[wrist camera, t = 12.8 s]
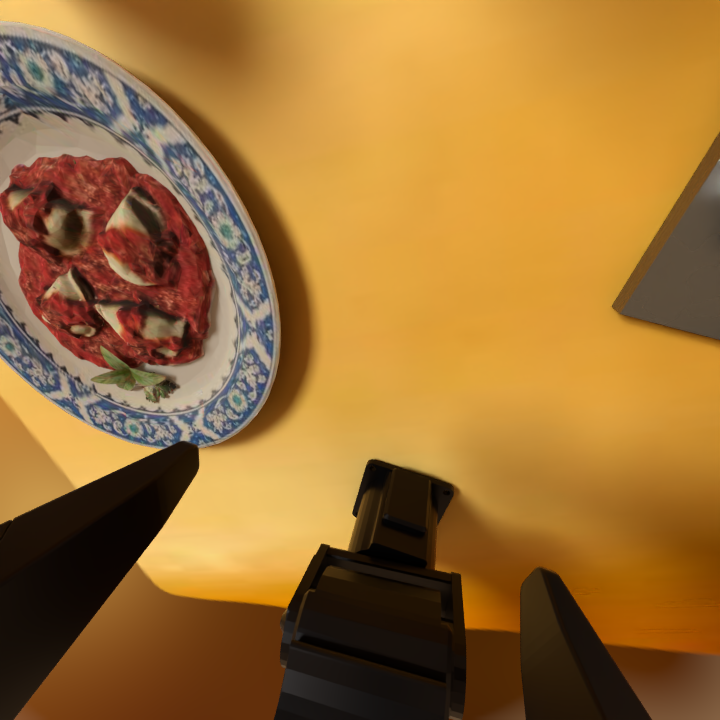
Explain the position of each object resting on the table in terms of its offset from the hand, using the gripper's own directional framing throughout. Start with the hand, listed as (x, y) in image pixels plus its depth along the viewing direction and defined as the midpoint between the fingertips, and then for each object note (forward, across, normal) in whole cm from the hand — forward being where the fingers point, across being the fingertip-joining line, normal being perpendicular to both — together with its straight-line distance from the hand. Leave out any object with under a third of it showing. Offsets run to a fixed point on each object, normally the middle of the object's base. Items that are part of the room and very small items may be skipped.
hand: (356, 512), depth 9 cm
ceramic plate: (+13, +20, +4) cm, 24 cm away
